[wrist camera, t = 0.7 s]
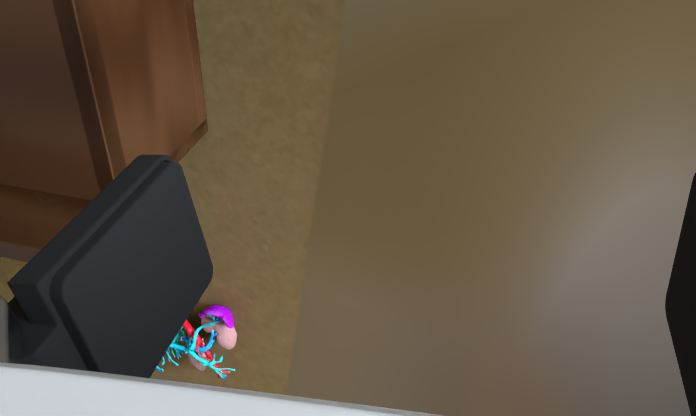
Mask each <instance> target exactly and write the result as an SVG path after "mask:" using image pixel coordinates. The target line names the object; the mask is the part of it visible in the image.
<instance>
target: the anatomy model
mask: <svg viewBox="0 0 696 416" xmlns="http://www.w3.org/2000/svg"><path fill="white" fill-rule="evenodd" d="M199 317H202V318H201V325H202V326H200V327H198V328H197V329H196V331H195V329H194V328H193V327H192V326H191V325H190V324H189V322H188V320H187V319H186V321H185V323H184V324H183V326H182V327H181V329H182V330H183V327H184V330H183V331H182V330H181V329H180V330H181V331H179V332H178V334H177V335H176V337H175V338H174V340H173V342H172V343H171V345H170V346H169V347H171V350H172V354H173V355H174V352H173V349H172V347H173V348H174V350H175V351H176V354H177V355H176V356H178V355H179V352H180V353H181V354H182V352H183V351H184V352H185V354H186V353H187V358H188V360H189V362H190V363H191V364H192V366H194V367H195V368H196V369H198V370H200V371H204V370H205V369H206V366H209V367H210V368H212V369H214V370H215V372H216V373H217V374H218V378H220V377H222V376H221V375H223V374H224V373H227V374H228V373H230V371H228V370H225V369H229V370H234V371H235V369H231V368H220V366H219V365H218V364H217V363H219V362H221V361H222V359H223V356H222V357H221V359H220V360H219V361H215V360H214V359H215V354H216V353H213V354H214V358H213V356H212V354H211V353H210V351H209V349H210V348H211V347H212V344H213V342H214V341H215V340H216V339H215V338H214V339H212V338H213V337H214V336H217V343H218V344H219V345H220V346H221V347H223V348H224V349H227V350H229V349H232V348H233V347H234V346H235V343H236V338H237V333H236V330H235V329H234V319H233V317H232V314H231V312H230V310H229V309H228V308H226V307H224V306H221V305H212V306H210V307H208V308H205V310H204V311H202V312H200V313H199ZM202 328H203V329H204V331H205V332H207V333H211V336H210V340H209V342H208V344H207V346H206V345H205V343H204V342H203V341H204V340H203V338H202V339H201V338H200V336H199V334H198V332H199V331H200V330H201V329H202ZM185 332H187V337H185V335H186V334H184V333H185ZM180 333H183V334H180ZM214 333H215V334H214ZM180 335H183V336H182V337H181V336H180ZM178 338H179V339H180V340H178ZM182 338H184V339H182ZM184 340H185V342H186V347H184V346H181V345H179V344H178V343H177V341H178V342H182V344H183V343H184ZM202 340H203V341H202ZM174 341H175V342H176V344H175V343H174ZM181 350H182V351H181ZM168 351H169V348H168ZM166 353H167V355H168V358H170V359H171V357H170V356H169V353H170V352H169V353H168V352H167V351H166ZM170 354H171V353H170ZM183 354H184V353H183ZM179 356H180V355H179ZM174 357H175V356H174ZM180 357H181V356H180ZM162 359H163V363H162V365H163V364H164V362H165V360H164V357H162ZM178 359H179V357H178ZM169 361H170V360H169ZM171 361H172V362H173V363H175V362H174V361H173V360H172V359H171ZM209 362H210V363H209ZM175 364H176V366H177V365H178V364H177V363H175ZM156 369H158V371H164V370H163V369H160V368H159V367H158V365H157V367H156ZM221 373H223V374H221ZM224 375H225V374H224ZM224 375H223V376H224ZM225 376H226V375H225ZM225 376H224V377H225ZM222 378H223V377H222ZM223 379H224V378H223ZM224 380H225V379H224Z"/></svg>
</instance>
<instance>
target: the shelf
mask: <svg viewBox="0 0 696 416" xmlns="http://www.w3.org/2000/svg"><path fill="white" fill-rule="evenodd" d="M207 131H208V126H207V118H206V109H205V100H204V92H203V83H202V75H201V66H200V58H199V49H198V41H197V32H196V23H195V15H194V6H193V0H0V257H4V258H9V259H14V260H18V261H23V262H29V261H30V260H31V259H32V258H33V257H34V256H35V255H36V254H37V253H38V252H39V251H40V250H42V249H43V248H44V247H45V246H46V245H47V244H48V243H49V242H50V241H51V240H52V239H53V238H54V237H55V236H56V235H57V234H58V233H59V232H60V231H61V230H62V229H63V228H64V227H65V226H66V225H67V224H68V223H69V222H70V221H71V220H72V219H73V218H75V217H76V216H77V215H78V214H79V213H80V212H81V211H82V210H83V209H84V208H85V207H86V206H87V205H88V204H89V203H90V202H91V201H92V200H93V199H94V198H95V197H96V196H97V195H98V194H99V193H100V192H101V191H102V190H103V189H104V188H105V187H106V186H108V185H109V184H110V183H111V182H112V181H113V180H114V179H115V178H116V177H117V176H118V175H119V174H120V173H121V172H122V171H123V170H124V169H125V168H126V167H127V166H128V165H129V164H130V163H131V162H132V161H133V160H134V159H135V158H136V157H138V156H139V155H144V154H145V155H168V156H171V158H172V159H173V160H174V162H177V163H178V162H179V161H180V160H181V159H182V158H183V157H184V156H185V155H186V154H187V153H188V152H189V150H190V149H191V148H192V147H193V146H194V145H195V144H196V143H197V142H198V141H199V140H200V139H201V138H202V137H203V135H204V134H205V133H206V132H207Z"/></svg>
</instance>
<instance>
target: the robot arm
mask: <svg viewBox="0 0 696 416" xmlns="http://www.w3.org/2000/svg"><path fill="white" fill-rule="evenodd" d="M212 275H213V266H212V262H211V258H210V255H209V252H208V249H207V246H206V243H205V239H204V236H203V233H202V230H201V227H200V224H199V221H198V217H197V214H196V211H195V208H194V205H193V202H192V198H191V195H190V192H189V189H188V186H187V183H186V180H185V176H184V173H183V170H182V168H181V166H180V164H179V163H177V162H174V160H173V159H172V158H171V156H168V155H145V154H144V155H139V156H138V157H136V158H135V159H134V160H133V161H132V162H131V163H130V164H129V165H128V166H127V167H126V168H125V169H124V170H123V171H122V172H121V173H120V174H119V175H118V176H117V177H116V178H115V179H114V180H113V181H112V182H111V183H110V184H109V185H108V186H106V187H105V188H104V189H103V190H102V191H101V192H100V193H99V194H98V195H97V196H96V197H95V198H94V199H93V200H92V201H91V202H90V203H89V204H88V205H87V206H86V207H85V208H84V209H83V210H82V211H81V212H80V213H79V214H78V215H77V216H76V217H75V218H73V219H72V220H71V221H70V222H69V223H68V224H67V225H66V226H65V227H64V228H63V229H62V230H61V231H60V232H59V233H58V234H57V235H56V236H55V237H54V238H53V239H52V240H51V241H50V242H49V243H48V244H47V245H46V246H45V247H44V248H43V249H42V250H40V251H39V252H38V253H37V254H36V255H35V256H34V257H33V258H32V259H31V260H30V261H29V262H28V263H27V264H26V265H25V266H24V267H23V268H22V269H21V270H20V271H19V272H18V273H17V274H16V275H15V276H14V277H13V278H12V279H11V280H10V281H9V282H7V283H8V285H9V287H10V289H11V290H12V292H13V294H14V296H15V297H14V298H13V299H12V300H11V301H10V302H9V303H7V301H6V300H5V299H4V298H3V297H1V296H0V416H443V415H436V414H429V413H421V412H414V411H406V410H398V409H391V408H383V407H375V406H367V405H360V404H352V403H343V402H335V401H328V400H321V399H312V398H305V397H296V396H289V395H281V394H273V393H265V392H257V391H249V390H241V389H233V388H225V387H217V386H209V385H201V384H193V383H184V382H176V381H167V380H158V379H151V378H150V376H151V375H152V373H153V372H154V370H155V369H156V367H157V365H158V364H159V362H160V361H161V359H162V357H163V356H164V354H165V353H166V351H167V350H168V348H169V346H170V345H171V343H172V342H173V340H174V338H175V337H176V335H177V334H178V332H179V331H180V329H181V327H182V326H183V324H184V323H185V321H186V319H187V318H188V316H189V315H190V313H191V312H192V310H193V308H194V307H195V305H196V304H197V302H198V301H199V299H200V297H201V296H202V294H203V293H204V291H205V289H206V288H207V286H208V285H209V283H210V281H211V279H212ZM665 306H666V307H665V308H666V317H667V321H668V325H669V329H670V332H671V336H672V341H673V345H674V349H675V353H676V357H677V361H678V364H679V369H680V373H681V377H682V381H683V385H684V389H685V393H686V397H687V401H688V405H689V408H690V413H691V416H696V173H695V176H694V177H693V181H692V185H691V189H690V194H689V198H688V203H687V207H686V211H685V216H684V220H683V225H682V229H681V233H680V237H679V242H678V246H677V251H676V255H675V259H674V264H673V268H672V272H671V277H670V281H669V286H668V290H667V294H666V304H665Z"/></svg>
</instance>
